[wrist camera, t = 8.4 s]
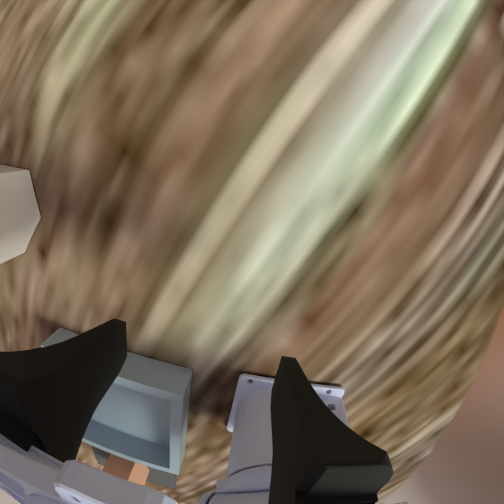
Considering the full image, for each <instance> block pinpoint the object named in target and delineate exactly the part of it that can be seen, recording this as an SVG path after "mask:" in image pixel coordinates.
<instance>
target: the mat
mask: <svg viewBox="0 0 504 504" xmlns="http://www.w3.org/2000/svg"><path fill="white" fill-rule="evenodd" d="M92 447H93V450H94V453H95V456H96V458H97V461H98V463H99V464H101V465H104V466H105V464H106V462H107V460H108V458H109V456H110V454H111V453H109V452H106V451H104V450H101V449H99V448H96V447H94V446H92ZM146 467H147V468H148V469H149V474H148V476H147V479H146V481H148V482H151V483H155V484H158V485H162V486H165V487H169V488H173V489H175V487H176V474H173V473H169V472H165V471H162V470H158V469H155V468H151V467H148V466H146Z"/></svg>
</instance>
